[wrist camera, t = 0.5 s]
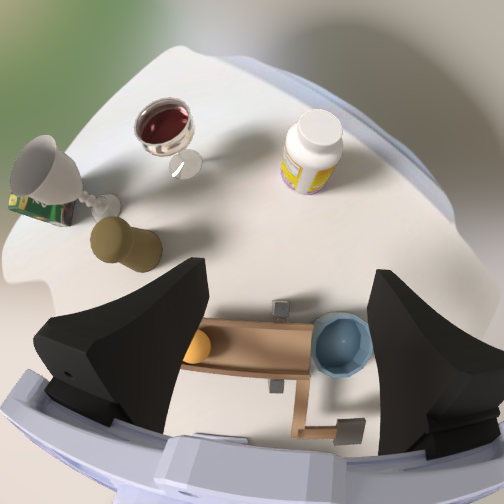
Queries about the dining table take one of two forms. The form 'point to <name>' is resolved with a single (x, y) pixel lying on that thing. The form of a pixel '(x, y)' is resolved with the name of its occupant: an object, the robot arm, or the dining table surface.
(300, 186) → the supplement bottle
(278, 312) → the chute stand
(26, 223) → the dining table surface
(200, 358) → the ball
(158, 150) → the wineglass
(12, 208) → the coffee box
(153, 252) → the cork
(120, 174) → the dining table surface
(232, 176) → the dining table surface
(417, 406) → the robot arm
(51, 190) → the chalice
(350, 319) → the cup
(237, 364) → the tipping chute
